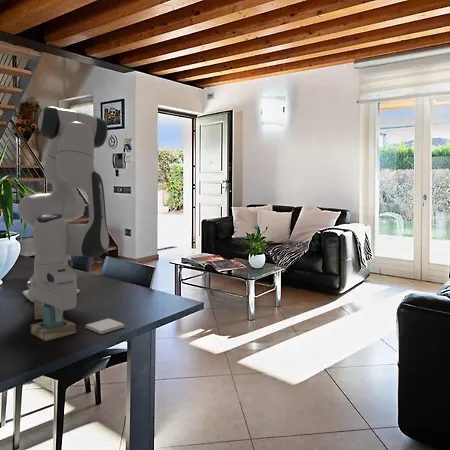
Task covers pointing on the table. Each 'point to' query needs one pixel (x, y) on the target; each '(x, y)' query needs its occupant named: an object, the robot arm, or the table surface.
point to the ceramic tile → (104, 326)
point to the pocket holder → (53, 330)
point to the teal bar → (50, 317)
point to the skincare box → (38, 309)
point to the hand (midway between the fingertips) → (53, 319)
